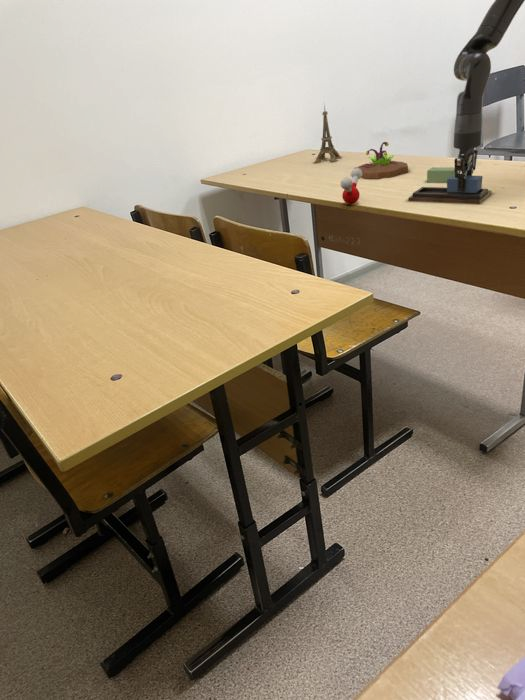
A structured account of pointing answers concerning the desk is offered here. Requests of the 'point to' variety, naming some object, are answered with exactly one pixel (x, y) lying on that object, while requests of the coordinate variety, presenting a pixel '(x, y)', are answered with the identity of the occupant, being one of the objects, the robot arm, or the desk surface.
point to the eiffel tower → (330, 148)
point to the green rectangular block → (440, 174)
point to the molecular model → (351, 187)
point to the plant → (382, 166)
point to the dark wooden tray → (448, 196)
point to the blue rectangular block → (471, 184)
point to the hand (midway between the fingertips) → (464, 188)
